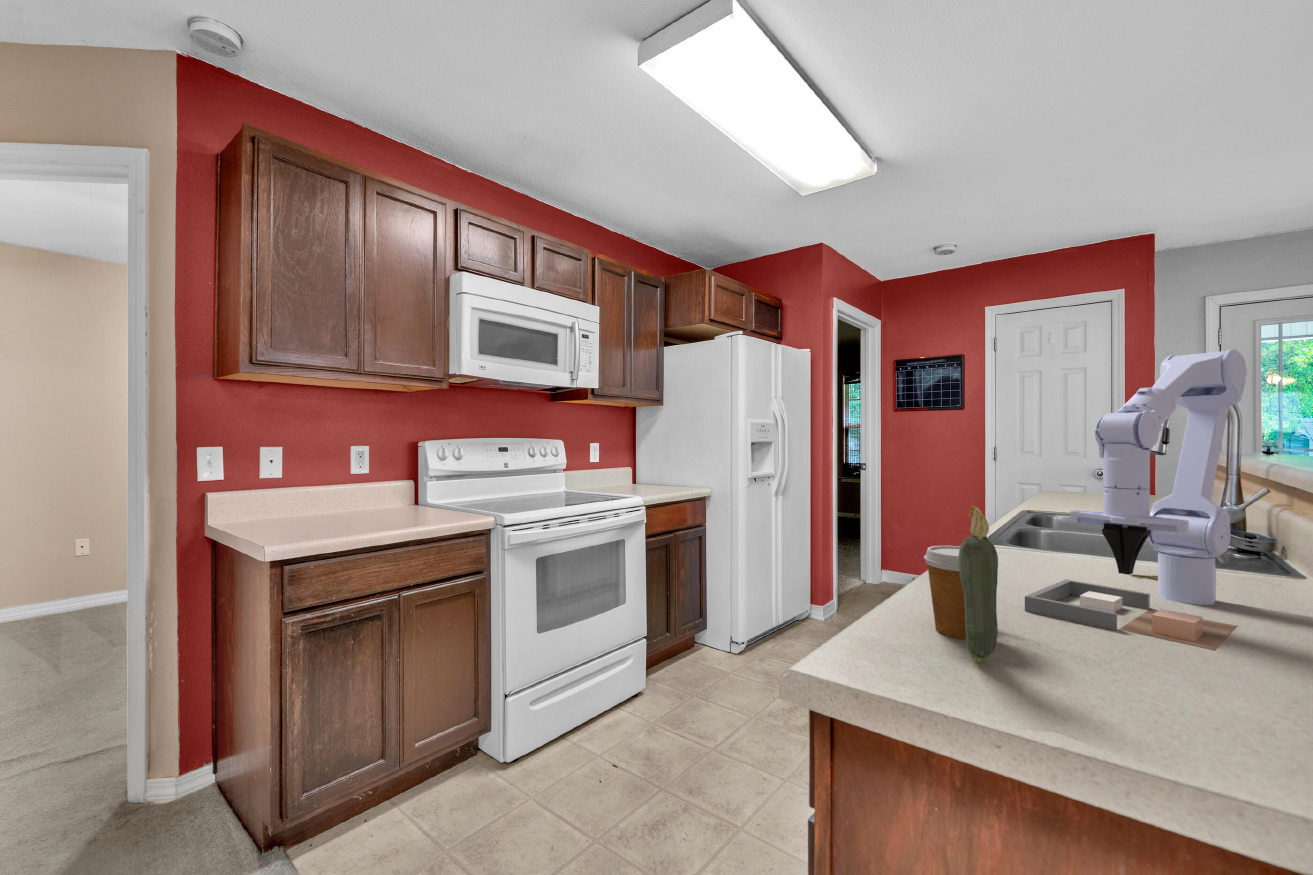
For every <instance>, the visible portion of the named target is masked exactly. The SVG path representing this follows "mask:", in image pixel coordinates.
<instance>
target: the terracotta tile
mask: <svg viewBox="0 0 1313 875" xmlns="http://www.w3.org/2000/svg"><path fill="white" fill-rule="evenodd" d="M1156 611H1157V612H1156V613H1154V614H1153V615H1152V632H1153V633H1158V634H1162V635H1167V636H1172V637H1177V638H1181V639H1186V640H1191V641H1196V640H1197V639H1198V638H1199V637H1200V636H1201V635H1202V619H1203V616H1200V615H1195V614H1188V613H1184V612H1179V611H1174V610H1168V609H1162V608H1160V609H1158V610H1156Z"/></svg>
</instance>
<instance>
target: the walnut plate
mask: <svg viewBox="0 0 1313 875" xmlns="http://www.w3.org/2000/svg"><path fill="white" fill-rule="evenodd" d="M1157 611H1158V610H1155V609H1150V608H1149V609H1147V611H1145V612H1143V613H1141V614H1140V615H1139V616H1137V617H1135V618H1134V619H1132V620H1131V621H1129V622H1128V623H1126V624H1125V625H1123V626H1122V627H1120V628H1119V629H1118V630H1119V631H1124V632H1128V633H1132V634H1138V635H1142V636H1146V637H1151V638H1154V639H1155V638H1156V639H1160V640H1164V641H1169V642H1174V643H1178V644H1184V645H1188V646H1192V647H1197V648H1202V649H1206V650H1209V651H1210V650H1212V651H1215V650H1216V649H1217V648H1218V647H1219V646H1220V645H1221V644H1222V643H1223V642H1224V641H1225V640H1226V639H1227V637H1229V636H1230V634H1231V633H1232V632H1233V631H1234V630H1235V629H1236V628H1237V627H1238V625H1235V624H1229V623H1226V622H1225V623H1224V622H1221V621H1220V622H1219V621H1216V620H1215V621H1213V620H1208V619H1203V618H1202V635H1201V636H1200V637H1199V638H1198V639H1197V640H1196V641H1191V640H1186V639H1181V638H1177V637H1172V636H1167V635H1162V634H1158V633H1153V632H1152V615H1153V614H1154V613H1156V612H1157Z"/></svg>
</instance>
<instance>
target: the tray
mask: <svg viewBox="0 0 1313 875" xmlns="http://www.w3.org/2000/svg"><path fill="white" fill-rule="evenodd" d="M1088 591H1091V592H1097V593H1102V594H1108V595H1113V596H1119V597H1122V606H1129V607H1135V608H1139V609H1144V610H1145V609H1146V610H1149V609H1150V608H1151V598H1150V597H1151V593H1148V592H1141V591H1137V590H1130V589H1124V588H1118V587H1113V586H1106V585H1102V584H1095V583H1090V582H1084V581H1077V580H1073V579H1066V578H1065V579H1063V580H1061V581H1059V582H1056V583H1053V584H1052V585H1048V586H1046V587H1044V588H1041V589H1039V590H1036V591H1034V592H1032V593H1029V594H1027V595H1024V612H1029V613H1033V614H1038V615H1041V616H1047V617H1052V618H1055V619H1059V620H1064V621H1069V622H1073V623H1078V624H1081V625H1082V624H1083V625H1086V626H1087V625H1088V626H1092V627H1097V628H1101V629H1106V630H1110V631H1114V632H1115V631H1117V629H1118V613H1117V612H1109V611H1104V610H1099V609H1094V608H1089V607H1084V606H1080V604H1079V605H1078V604H1074V603H1067V602H1064V601H1061V600H1062V599H1064V598H1066V597H1068V596H1076V597H1080V595H1082V594H1084V593H1086V592H1088Z"/></svg>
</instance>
